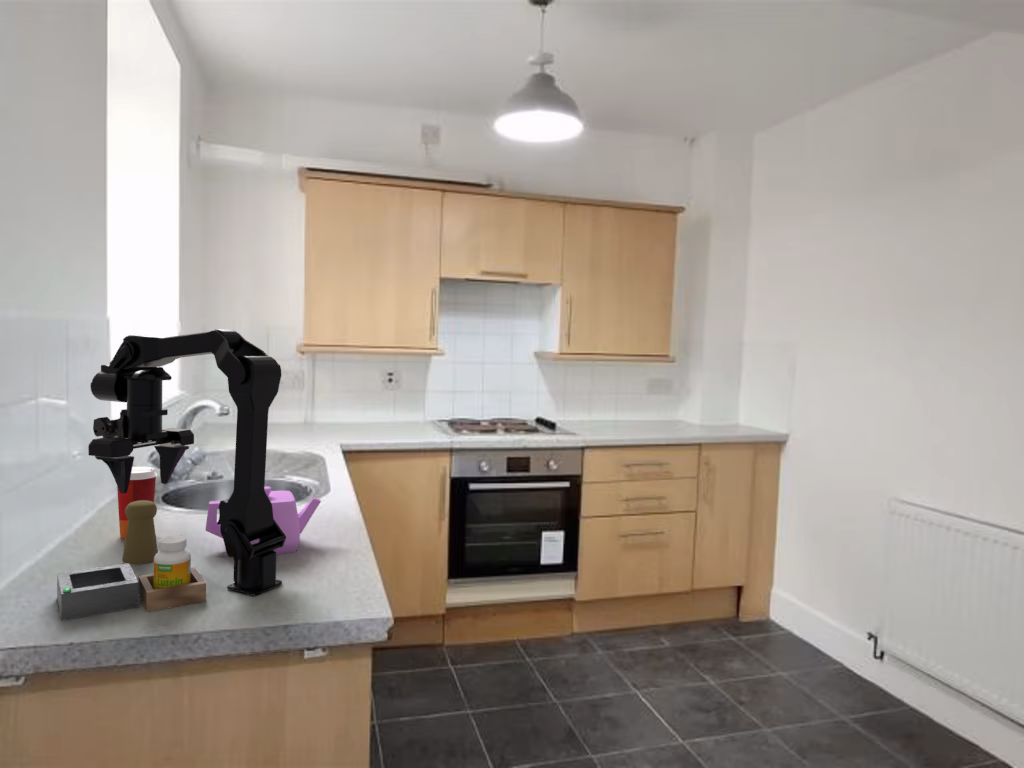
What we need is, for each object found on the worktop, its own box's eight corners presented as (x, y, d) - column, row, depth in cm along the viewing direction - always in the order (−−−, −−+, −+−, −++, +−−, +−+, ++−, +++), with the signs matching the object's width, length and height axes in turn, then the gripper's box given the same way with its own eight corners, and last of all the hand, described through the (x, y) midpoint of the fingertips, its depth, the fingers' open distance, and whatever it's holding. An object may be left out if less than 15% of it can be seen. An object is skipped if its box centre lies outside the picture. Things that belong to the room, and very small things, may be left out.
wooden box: (194, 584, 115) (194, 567, 115) (205, 601, 108) (206, 583, 108) (138, 593, 110) (138, 575, 109) (146, 611, 103) (147, 592, 103)
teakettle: (197, 551, 132) (198, 490, 131) (257, 530, 148) (258, 475, 147) (267, 565, 126) (269, 501, 125) (322, 541, 142) (324, 484, 141)
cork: (117, 557, 126) (118, 500, 125) (152, 551, 130) (153, 496, 129) (127, 566, 121) (128, 507, 121) (163, 560, 126) (164, 502, 125)
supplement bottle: (151, 605, 105) (152, 545, 105) (154, 593, 110) (155, 535, 110) (189, 601, 107) (190, 542, 107) (190, 589, 112) (191, 533, 112)
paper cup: (159, 529, 144) (160, 465, 143) (152, 540, 137) (153, 473, 136) (118, 531, 141) (119, 466, 140) (109, 542, 134) (110, 473, 133)
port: (128, 586, 112) (129, 560, 112) (138, 606, 104) (138, 579, 104) (57, 597, 106) (57, 570, 106) (61, 620, 98) (61, 591, 98)
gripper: (150, 398, 133) (150, 475, 134) (63, 405, 115) (64, 494, 116) (196, 401, 130) (195, 480, 131) (114, 409, 112) (114, 500, 113)
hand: (144, 488), depth 123 cm, fingers open, 9 cm apart
